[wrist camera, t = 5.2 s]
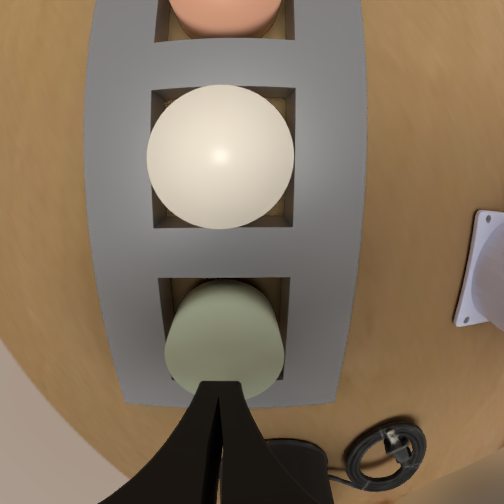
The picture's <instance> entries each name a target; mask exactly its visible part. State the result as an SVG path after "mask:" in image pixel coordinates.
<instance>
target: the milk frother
mask: <svg viewBox="0 0 504 504" xmlns="http://www.w3.org/2000/svg"><path fill="white" fill-rule="evenodd" d="M383 439H384V445H385V451H386V454H388V455H391V454H392V455H393V457H394V458H395V459H396V461H397V463H400V464H401V467H400V469H399V470H397V471H396V472H395V473H394V474H392V475H390V476H387V477H382V478H372V477H368V476H366V475H364V474H363V473H362V472H361V471H360V468H359V464H360V461H361V459H362V457H363V455H364V454H365V453H366V452H367V450H368V449H369V448H370V447H372V446H373V445H374V444H376V443H377V442H379V441H381V440H383ZM407 439H409V440H410V441H411V444H412V449H413V451H412V452H411V451H410V448H409V447H407V446H408V440H407ZM266 443H267V444H268V446H269V447H270V449H271V450H272V452H273V453H274V454H275V456H276V457H277V459H278V460H279V461H280V462H281V464H282V465H283V466H284V467H285V469H286V470H287V471H288V472H289V473H290V475H291V476H292V477H293V478H294V479H295V480H296V481H297V482H298V483H299V484H300V485H301V486H302V487H303V488H304V489H305V490H306V491H307V492H308V493H309V494H310V495H311V496H312V497H313V498H314V499H315V500H317V501H318V502H319V503H320V504H334V501H333V497H332V492H331V487H330V482H329V480H334V481H337V482H341V483H343V484H346V485H348V486H351V487H353V488H357V489H360V490H365V491H370V492H380V491H387V490H391V489H394V488H396V487H398V486H400V485H402V484H403V483H405V482H406V481H407V480H409V479H410V478H411V477H412V475H413V474H414V473H415V472H416V471H417V469H418V468H419V466H420V464H421V463H422V460H423V458H424V455H425V451H426V438H425V435H424V433H423V431H422V430H421V429H420V428H419V427H418V426H417V425H415V424H413V423H410V422H405V421H403V422H393V423H389V424H386V425H383V426H380V427H378V428H376V429H374V430H372V431H370V432H369V433H367V434H365V435H364V436H363V437H361V438H360V439H359V440H358V441H356V442H355V443H354V445H353V446H352V448H351V449H350V451H349V453H348V455H347V459H346V465H345V466H346V468H345V470H346V473H347V476H348V477H349V479H350V480H351V481H352V482H350V481H347V480H344V479H341V478H339V477H336V476H333V475H328V472H327V464H328V459H327V456H326V455H325V453H324V452H323V451H322V450H321V449H320V448H318V447H317V446H315V445H312V444H309V443H307V442H301V441H297V440H280V439H279V440H268V441H266ZM222 476H223V459H222V460H221V464H220V473H219V479H220V501H221V500H222Z"/></svg>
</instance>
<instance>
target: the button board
mask: <svg viewBox="0 0 504 504" xmlns="http://www.w3.org/2000/svg"><path fill="white" fill-rule="evenodd" d="M170 4H171V3H170V1H169V0H96V3H95V9H94V14H93V21H92V27H91V34H90V42H89V50H88V59H87V70H86V83H85V100H84V174H85V192H86V206H87V217H88V227H89V236H90V244H91V252H92V259H93V266H94V273H95V279H96V285H97V290H98V296H99V301H100V306H101V311H102V316H103V321H104V325H105V330H106V334H107V338H108V343H109V347H110V351H111V355H112V359H113V362H114V366H115V370H116V373H117V377H118V380H119V384H120V387H121V390H122V394H123V397H124V400H125V403H131V404H140V405H151V406H164V407H180V408H188V407H189V405H190V403H191V401H192V399H193V397H194V394H192V393H190V392H188V391H187V390H185V389H184V388H183V387H181V386H180V385H179V384H178V383H177V382H176V381H175V379H174V378H173V377H172V375H171V374H170V372H169V370H168V368H167V365H166V361H165V354H164V351H165V344H166V340H167V337H168V334H169V331H170V328H171V326H172V323H173V320H174V312H173V303H172V293H171V282H170V278H262V277H282V284H281V305H280V323H279V331H280V335H281V340H282V344H283V349H284V364H283V367H282V370H281V373H280V374H279V376H278V378H277V379H276V381H275V382H274V383H273V384H272V385H271V386H270V387H269V388H268V389H266V390H265V391H264V392H262V393H260V394H259V395H256V396H254V397H252V398H249V399H246V400H245V401H246V403H247V406H248V408H249V409H250V408H275V407H292V406H304V405H315V404H325V403H334V401H335V397H336V392H337V388H338V383H339V378H340V374H341V369H342V364H343V359H344V354H345V348H346V343H347V337H348V332H349V326H350V320H351V313H352V307H353V300H354V293H355V286H356V279H357V271H358V262H359V254H360V244H361V234H362V223H363V211H364V197H365V180H366V156H367V79H366V57H365V41H364V28H363V17H362V8H361V0H285V22H286V40H284V39H266V38H206V39H189V40H176V41H167V38H168V25H169V14H170ZM210 85H232V86H238V87H242V88H245V89H248V90H250V91H252V92H255V93H257V94H258V95H260V96H261V97H268V98H286V124H287V126H288V128H289V131H290V134H291V137H292V142H293V147H294V164H293V170H292V175H291V178H290V181H289V183H288V186H287V188H286V190H285V203H284V216H261V217H259V218H258V219H256V220H254V221H252V222H250V223H248V224H245V225H242V226H239V227H235V228H230V229H209V228H203V227H199V226H196V225H193V224H191V223H188V222H186V221H184V220H182V219H181V218H179V217H166V207H165V205H164V204H163V203H162V201H161V200H160V198H159V197H158V196H157V194H156V192H155V190H154V188H153V186H152V184H151V181H150V178H149V174H148V169H147V147H148V142H149V138H150V135H151V132H152V130H153V128H154V126H155V124H156V122H157V120H158V119H159V117H160V116H161V114H162V113H163V112H164V100H169V99H178V98H179V97H181V96H182V95H184V94H186V93H188V92H190V91H192V90H195V89H198V88H201V87H205V86H210Z"/></svg>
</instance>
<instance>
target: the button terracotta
mask: <svg viewBox="0 0 504 504" xmlns="http://www.w3.org/2000/svg"><path fill="white" fill-rule="evenodd" d="M169 1H170V3H171V6H172V8H173V10H174V12H175V14H176V17H177V19H178V21H179V23H180V25H181V27H182V29H183V30H184V31H185V32H186V33H187V34H188V35H189V36H190V37H191V38H193V39H206V38H260V37H261V36H263V35H264V34H265V33H266V32H267V31H268V30H269V29H270V28H271V26H272V25H273V23H274V21H275V19H276V16H277V13H278V10H279V7H280V3H281V0H169Z"/></svg>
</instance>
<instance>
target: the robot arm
mask: <svg viewBox="0 0 504 504" xmlns="http://www.w3.org/2000/svg"><path fill="white" fill-rule="evenodd" d="M486 217H487V220H486ZM464 319H465V320H464ZM488 321H490V322H491V323H492V324H494V325H495V326H496V327H497V328H498V329H500V330H501V331H502V332H503V333H504V212H498V211H489V210H479V211H477V213H476V216H475V222H474V229H473V235H472V241H471V247H470V253H469V258H468V263H467V268H466V273H465V277H464V282H463V286H462V290H461V294H460V298H459V302H458V306H457V310H456V313H455V317H454V324H455V325H456V326H457V327H462V326H467V325H473V324H478V323H483V322H488ZM222 447H223V476H222V500H221V504H320V503H319V502H318V501H317V500H315V499H314V498H313V497H312V496H311V495H310V494H309V493H308V492H307V491H306V490H305V489H304V488H303V487H302V486H301V485H300V484H299V483H298V482H297V481H296V480H295V479H294V478H293V477H292V476H291V475H290V473H289V472H288V471H287V470H286V469H285V467H284V466H283V465H282V464H281V462H280V461H279V460H278V459H277V457H276V456H275V454H274V453H273V452H272V450H271V449H270V447H269V446H268V444H267V443H266V441H265V439H264V438H263V436H262V434H261V433H260V431H259V429H258V427H257V425H256V423H255V421H254V419H253V417H252V415H251V413H250V411H249V408H248V406H247V403H246V401H245V398H244V394H243V391H242V386H241V383H240V382H239V381H201V382H200V383H199V386H198V388H197V391H196V393H195V395H194V397H193V399H192V401H191V403H190V405H189V407H188V409H187V410H186V412H185V414H184V415H183V417H182V419H181V420H180V422H179V424H178V425H177V427H176V428H175V429H174V431H173V432H172V434H171V435H170V437H169V438H168V439H167V441H166V442H165V443H164V445H163V446H162V447H161V448H160V450H159V451H158V452H157V453H156V454H155V455H154V457H153V458H152V459H151V460H150V461H149V462H148V463H147V464H146V465H145V466H144V467H143V468H142V469H141V470H140V471H139V472H138V473H137V474H136V475H135V476H134V477H133V478H132V479H130V480H129V481H128V482H127V483H126V484H124V485H123V486H122V487H121V488H119V489H118V490H117V491H115V492H114V493H113V494H112V495H110V496H109V497H107V498H106V499H105V500H103V501H101V502H100V503H98V504H216V502H217V490H218V481H219V473H220V464H221V455H222Z"/></svg>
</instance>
